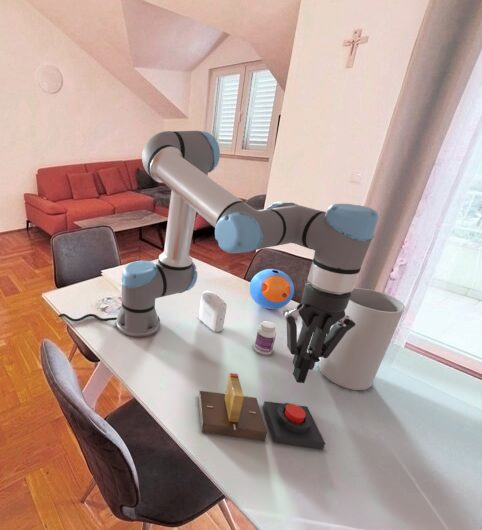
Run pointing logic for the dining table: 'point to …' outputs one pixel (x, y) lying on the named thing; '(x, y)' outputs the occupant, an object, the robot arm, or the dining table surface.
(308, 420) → the button box
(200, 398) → the panel
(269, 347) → the pill bottle
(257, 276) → the treat dispenser ball
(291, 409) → the button
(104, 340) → the dining table surface
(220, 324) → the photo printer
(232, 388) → the lock handle
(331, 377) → the cylinder vase
